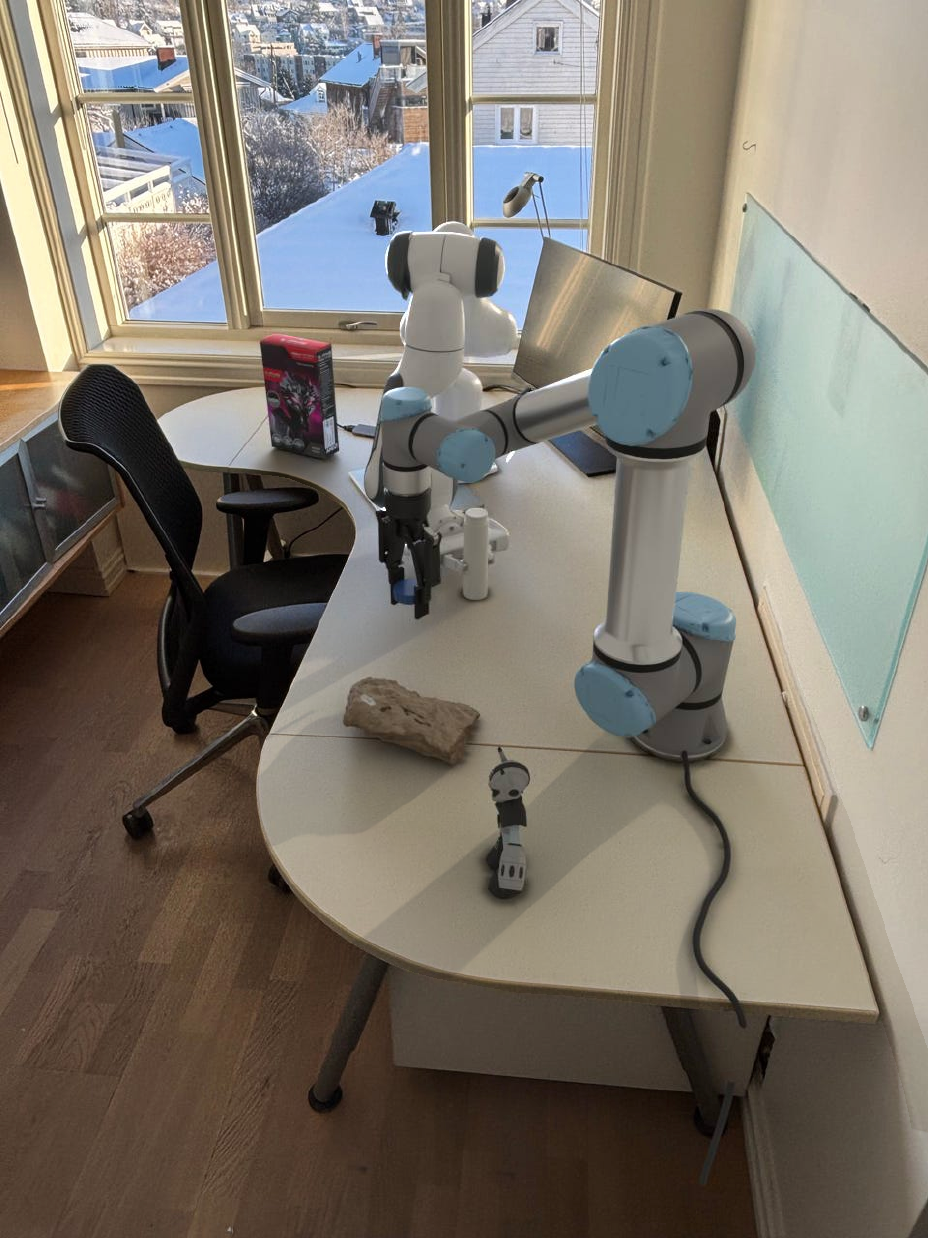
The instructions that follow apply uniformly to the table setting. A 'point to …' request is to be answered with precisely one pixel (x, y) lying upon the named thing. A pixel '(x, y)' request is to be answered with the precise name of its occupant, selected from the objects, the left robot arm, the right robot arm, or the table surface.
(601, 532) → the table surface
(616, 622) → the right robot arm
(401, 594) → the lid
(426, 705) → the stone
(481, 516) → the white bottle
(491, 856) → the robot
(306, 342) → the graphics card box
